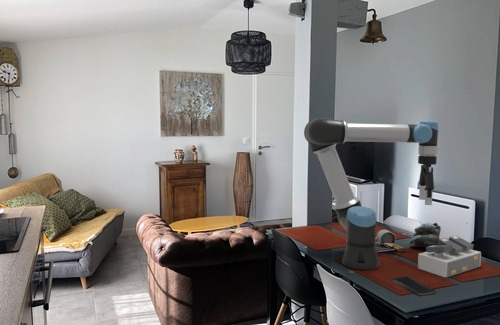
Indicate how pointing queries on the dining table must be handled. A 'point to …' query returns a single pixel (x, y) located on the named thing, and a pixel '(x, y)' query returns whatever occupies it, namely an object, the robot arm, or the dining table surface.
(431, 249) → the block
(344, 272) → the dining table surface
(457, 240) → the rocker
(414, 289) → the phone
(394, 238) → the ceramic mug
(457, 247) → the rocker
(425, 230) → the lucky cat figurine
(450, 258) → the switch unit
